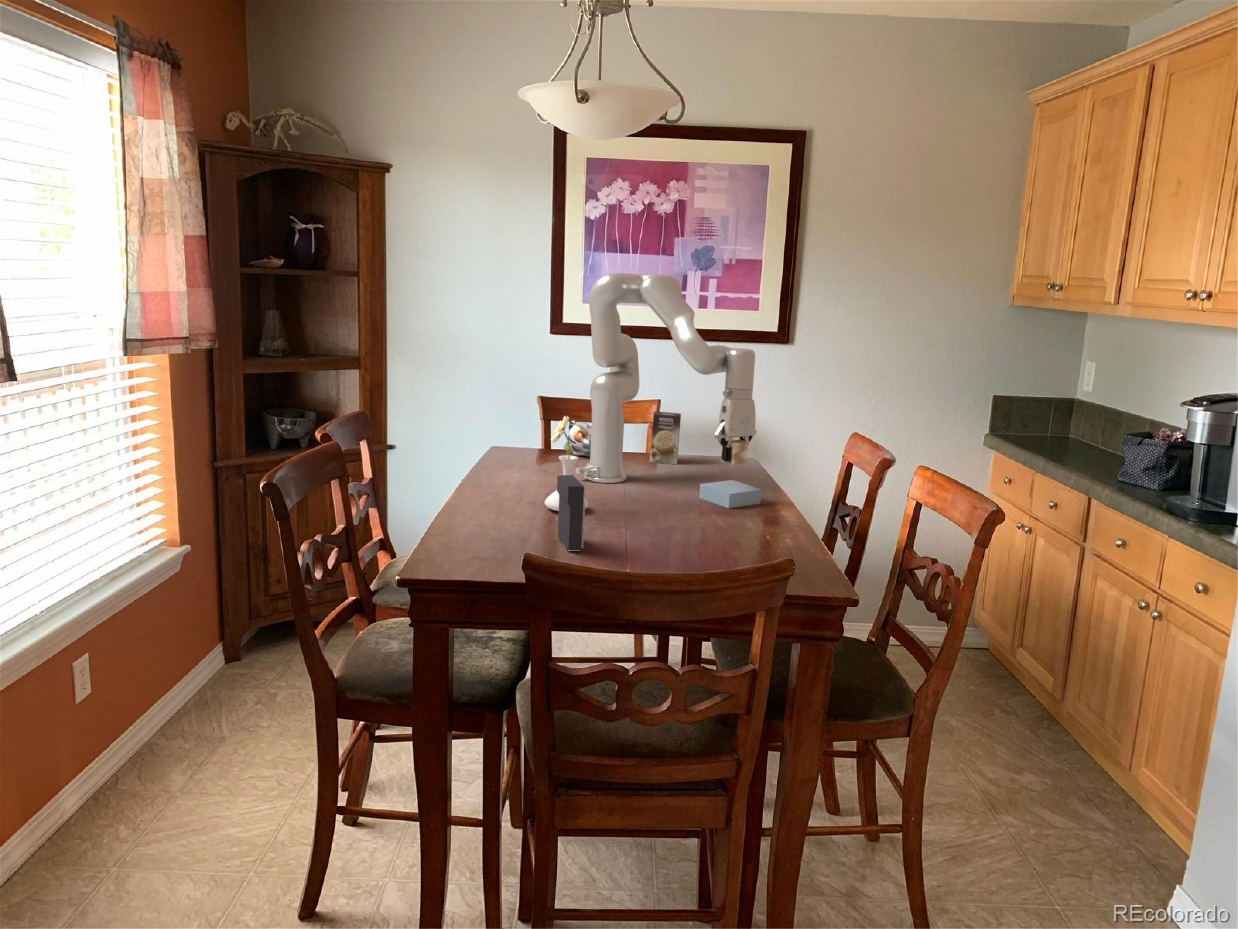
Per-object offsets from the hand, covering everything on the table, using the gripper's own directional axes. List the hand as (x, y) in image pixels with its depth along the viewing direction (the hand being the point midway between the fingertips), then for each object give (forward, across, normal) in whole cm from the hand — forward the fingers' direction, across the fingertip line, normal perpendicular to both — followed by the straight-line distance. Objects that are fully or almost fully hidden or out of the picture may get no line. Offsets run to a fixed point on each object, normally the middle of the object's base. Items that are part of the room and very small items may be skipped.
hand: (733, 459), depth 250 cm
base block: (+12, 0, 0) cm, 12 cm away
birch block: (+1, 0, 0) cm, 1 cm away
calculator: (+12, -62, -14) cm, 65 cm away
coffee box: (+12, +15, +48) cm, 52 cm away
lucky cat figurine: (+11, -3, +66) cm, 67 cm away
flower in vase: (+12, -47, +11) cm, 50 cm away
